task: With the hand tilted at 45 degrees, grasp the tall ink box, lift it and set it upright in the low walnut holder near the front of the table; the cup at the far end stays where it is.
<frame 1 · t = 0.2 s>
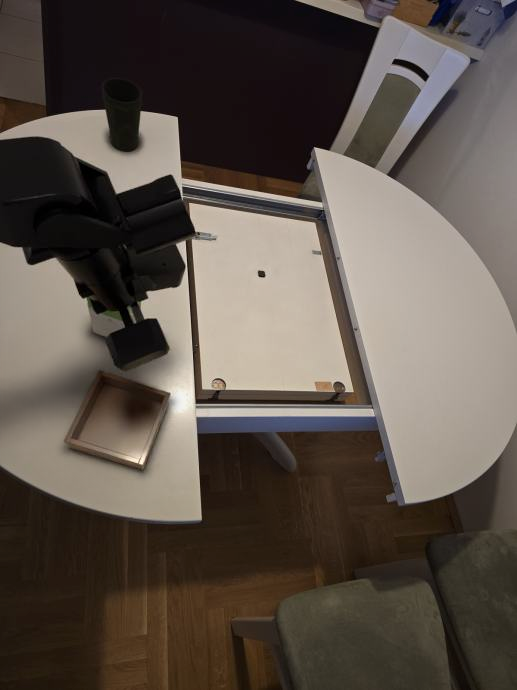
hand: (136, 319, 54), 14 cm above the table, tool pointing down, fingers open, 9 cm apart
cup: (124, 143, 87), on the table
holder: (121, 423, 62), on the table
ink box: (117, 331, 68), on the table
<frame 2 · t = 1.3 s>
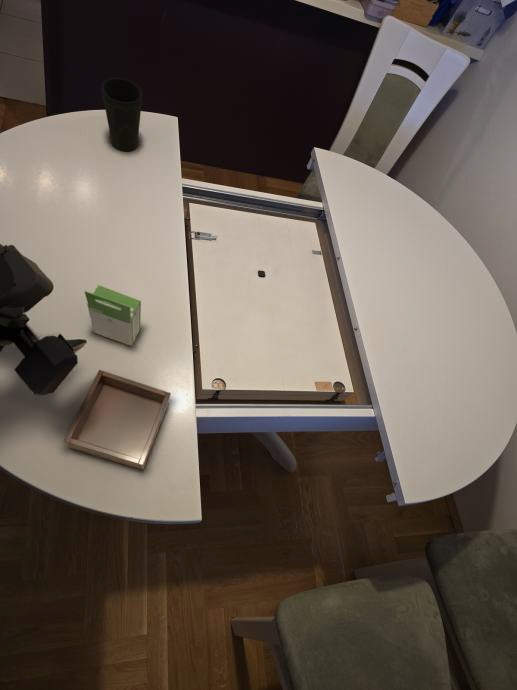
hand: (63, 318, 53), 13 cm above the table, tool tilted 45°, fingers open, 9 cm apart
nothing on the table moved.
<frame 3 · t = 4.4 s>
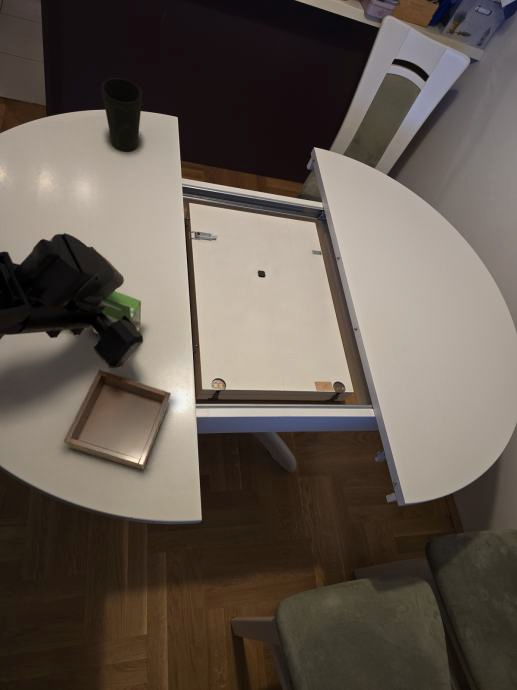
hand: (122, 307, 63), 7 cm above the table, tool tilted 45°, fingers closed on ink box, 8 cm apart
ink box: (117, 331, 68), on the table, touching gripper
everything else where it was.
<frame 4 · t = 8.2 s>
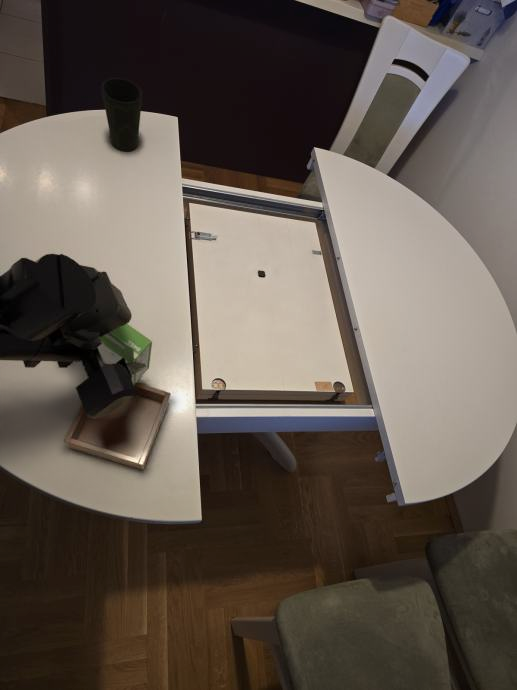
hand: (132, 342, 54), 13 cm above the table, tool tilted 45°, fingers closed on ink box, 8 cm apart
ink box: (123, 364, 59), point 6 cm above the table, touching gripper
everything else where it was.
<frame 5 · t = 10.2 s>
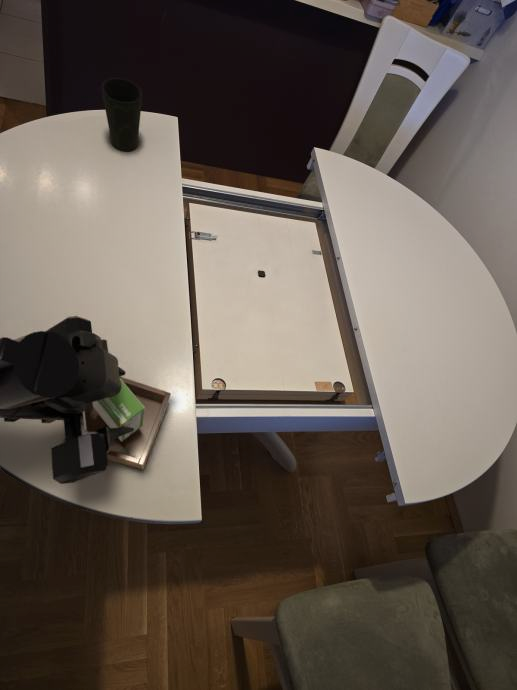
hand: (127, 401, 53), 11 cm above the table, tool tilted 45°, fingers closed on ink box, 8 cm apart
ink box: (118, 416, 58), point 4 cm above the table, touching gripper
everything else where it was.
when the fingers open (7 cm above the table, at t = 11.9 s): ink box stays where it is, resting on holder.
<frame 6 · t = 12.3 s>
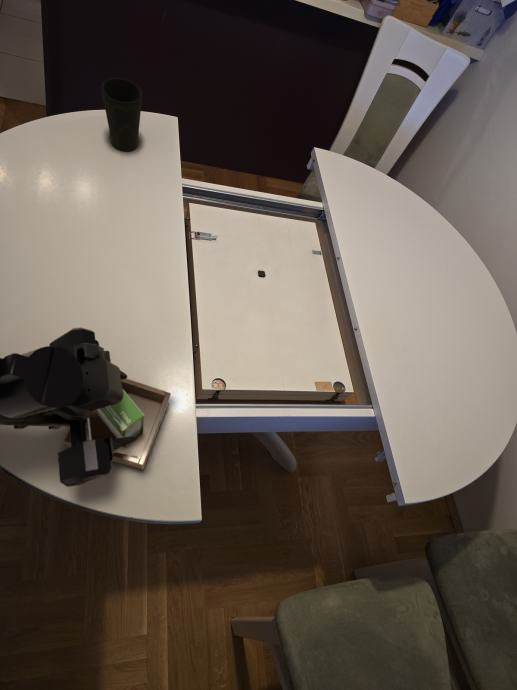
hand: (129, 407, 55), 8 cm above the table, tool tilted 45°, fingers open, 9 cm apart
ink box: (120, 422, 61), point 1 cm above the table, touching holder
everything else where it was.
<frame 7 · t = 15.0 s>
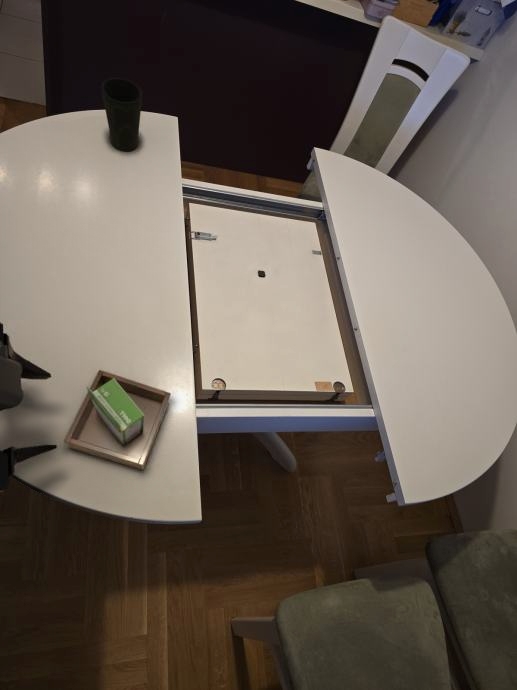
hand: (51, 411, 48), 12 cm above the table, tool tilted 45°, fingers open, 9 cm apart
nothing on the table moved.
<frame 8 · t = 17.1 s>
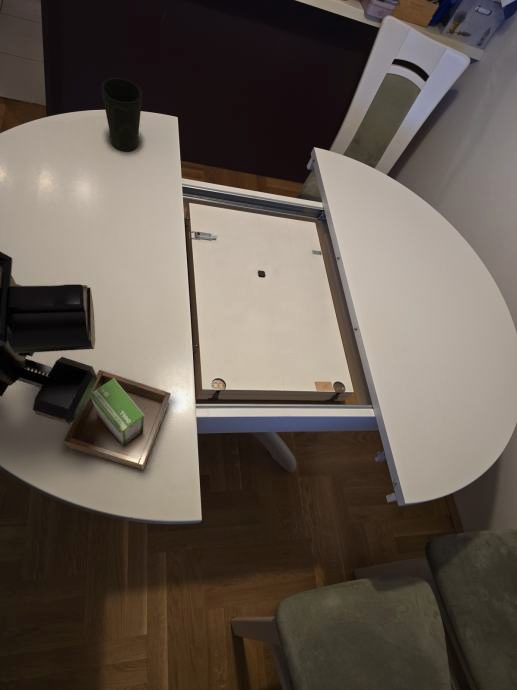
hand: (19, 392, 48), 13 cm above the table, tool pointing down, fingers open, 9 cm apart
nothing on the table moved.
at the end: ink box inside the target area in the holder (0.2 cm from its centre), point 0.6 cm above the holder's base; ink box tilted 0°; cup moved 0.2 cm from its start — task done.
